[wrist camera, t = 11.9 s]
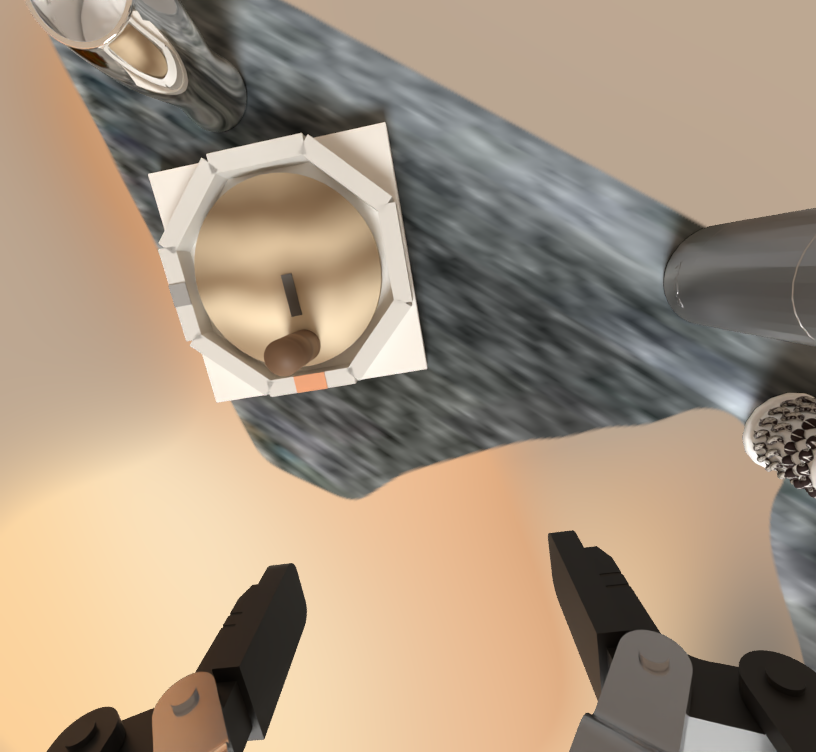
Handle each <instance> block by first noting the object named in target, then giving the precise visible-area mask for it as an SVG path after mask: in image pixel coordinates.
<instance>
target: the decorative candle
mask: <svg viewBox="0 0 816 752" xmlns="http://www.w3.org/2000/svg"><path fill="white" fill-rule="evenodd" d="M742 439H743V444H744V448H745V452H746V453H747V454H748V455H749V457H750V458H751V459H752V460H753V462H755V463H756V464H759V465H761V466H763V467H765V470H766V471H772V470H777V471H778V472H777V476H778V478H779V479H785V478H789V479H791V480H790V483H791V484H793V485H794V486H795V487H796V488H798V489H805V490H806V492H808V494H809V495H810V496H811V497H813V498H816V397H812V396H810V395H808V394H805V393H785V394H782V395H779V396H776V397H773V398H770V399H769V400H767V401H766V402H764V403H763V404H762V405H760V406H759V407H757V408H756V409H755V410H754V412H753V413H752V415H751V416H750V417H749V419H748V420H747V422H746V424H745V428H744V432H743V436H742Z"/></svg>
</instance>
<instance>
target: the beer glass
mask: <svg viewBox="0 0 816 752" xmlns="http://www.w3.org/2000/svg"><path fill="white" fill-rule="evenodd" d="M24 1H25V3H26V5H27V7H28V9H29V11H30V13H31V14H32V16H33V17H34V19H35V20H36V21H37V23H38V24H39V25H40V26H41V27H42V28H43V29H44V30H45V31H46V32H47V33H48V34H49V35H50V36H52V37H53V38H54V39H56V40H57V41H59V42H61V43H62V44H64V45H65V46H66V47H68V48H69V49H70V50H72V51H73V52H74V53H76V54H77V55H78V56H80V57H81V58H82V59H84V60H85V61H87V62H88V63H89V64H91V65H92V66H93V67H95V68H96V69H98V70H99V71H101V72H102V73H104V74H106V75H107V76H109V77H110V78H112V79H114V80H115V81H117V82H119V83H121V84H122V85H124V86H126V87H128V88H130V89H132V90H134V91H137V92H139V93H141V94H144V95H146V96H149V97H151V98H154V99H157V100H160V101H163V102H166V103H169V104H172V105H174V106H177V107H178V108H180V109H181V110H182V111H183V112H184V113H185V114H186V115H187V116H188V117H189V118H190V119H191V120H192V121H193V122H194V123H195V124H196V125H198V126H199V127H201V128H202V129H204V130H207V131H211V132H223V131H227V130H229V129H231V128H233V127H234V126H235V125H236V124H237V123H238V122H239V121H240V119H241V118H242V116H243V114H244V111H245V108H246V102H247V94H246V88H245V84H244V81H243V79H242V77H241V75H240V73H239V72H238V70H237V69H236V68H235V67H234V66H233V65H232V64H231V63H230V62H229V61H227V60H226V59H225V58H223V57H221V56H220V55H218V54H216V53H215V52H213V51H212V50H211V49H210V47H209V46H208V44H207V43H206V41H205V40H204V38H203V36H202V35H201V33H200V31H199V30H198V28H197V26H196V25H195V23H194V22H193V20H192V18H191V17H190V15H189V14H188V12H187V11H186V9H185V8H184V6H183V5H182V4H181V2H180V1H179V0H24Z"/></svg>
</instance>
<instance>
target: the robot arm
mask: <svg viewBox="0 0 816 752" xmlns="http://www.w3.org/2000/svg"><path fill="white" fill-rule="evenodd" d="M664 290H665V296H666V298H667V301H668V303H669V305H670V306H671V308H672V309H673V311H674V312H675V313H676V314H677V315H679V316H680V317H681V318H682V319H684V320H686V321H688V322H690V323H694V324H699V325H703V326H709V327H714V328H720V329H724V330H729V331H734V332H740V333H745V334H751V335H756V336H761V337H767V338H772V339H777V340H783V341H788V342H793V343H799V344H804V345H810V346H815V347H816V208H813V209H806V210H801V211H795V212H789V213H783V214H778V215H772V216H766V217H760V218H754V219H747V220H742V221H736V222H731V223H725V224H720V225H715V226H709V227H707V228H704V229H701V230H699V231H697V232H696V233H694V234H692V235H691V236H689V237H688V238H687V239H686V240H685V241H684V242H682V243H681V244H680V245H679V247H678V248H677V249H676V250H675V252H674V253H673V255H672V257H671V259H670V260H669V262H668V265H667V268H666V272H665V277H664ZM548 541H549V551H550V560H551V569H552V577H553V583H554V587H555V591H556V595H557V598H558V601H559V603H560V606H561V609H562V611H563V614H564V616H565V619H566V621H567V624H568V626H569V629H570V631H571V634H572V636H573V639H574V642H575V644H576V646H577V649H578V651H579V654H580V657H581V659H582V662H583V664H584V667H585V669H586V672H587V675H588V677H589V680H590V682H591V685H592V687H593V690H594V692H595V695H596V697H597V700H598V703H597V706H596V709H595V711H594V713H593V714H592V715H591V714H590V713H586V714H585V715H584V716H583V718H582V719H581V722H580V724H579V727H578V729H577V732H576V735H575V737H574V740H573V743H572V746H571V748H570V751H569V752H816V673H815V672H814V671H813V670H812V669H810V668H809V667H807V666H806V665H804V664H803V663H801V662H799V661H797V660H795V659H793V658H791V657H788V656H786V655H783V654H780V653H776V652H771V651H763V650H759V651H752V652H749V653H747V654H745V655H744V656H743V657H742V658H741V660H740V662H739V667H735V666H730V665H725V664H720V663H714V662H708V661H705V660H701V659H698V658H695V657H692V656H690V655H688V654H687V653H686V652H685V651H684V650H683V648H682V647H681V646H679V645H678V644H677V643H676V642H675V641H673V640H672V639H670V638H668V637H667V636H665V635H662V634H661V633H660V632H659V630H658V629H657V627H656V625H655V624H654V622H653V621H652V619H651V618H650V616H649V615H648V613H647V612H646V610H645V608H644V607H643V605H642V604H641V602H640V601H639V599H638V597H637V596H636V594H635V593H634V591H633V590H632V588H631V587H630V586H629V584H628V582H627V581H626V579H625V577H624V576H623V575H622V574H621V571H620V570H619V568H618V566H617V565H616V563H615V562H614V560H613V559H612V557H611V556H609V555H608V554H606V553H605V552H604V551H602V550H601V549H600V548H598V547H597V546H595V547H586V548H584V547H583V545H582V543H581V542H580V540H579V538H578V536H577V534H576V533H575V532H574V531H573V530H572V531H564V532H556V533H549V534H548ZM306 616H307V607H306V601H305V598H304V594H303V591H302V587H301V583H300V580H299V576H298V572H297V569H296V567H295V565H294V564H292V563H289V564H281V565H273V566H269V567H268V568H267V570H266V571H265V573H264V575H263V576H262V578H261V580H260V582H259V584H257V585H252V586H251V587H250V588H249V589H248V590H247V591H246V592H245V593H244V594H243V595H242V596H241V597H240V598H239V599H238V601H237V602H236V604H235V606H234V608H233V609H232V611H231V613H230V616H228V618H227V619H226V621H225V623H224V624H223V628H221V630H220V631H219V633H218V635H217V636H216V638H215V640H214V642H213V643H212V645H211V647H210V648H209V650H208V652H207V653H206V655H205V657H204V658H203V660H202V662H201V664H200V665H199V667H198V669H197V670H196V672H195V673H193V674H190V675H188V676H186V677H184V678H182V679H181V680H179V681H178V682H176V683H175V684H174V685H172V686H171V687H170V688H169V689H168V690H167V691H166V692H165V693H164V694H163V695H162V697H161V698H160V699H159V701H158V703H157V704H156V706H155V708H153V709H150V710H148V711H145V712H143V713H140V714H138V715H135V716H132V717H130V718H127V719H125V720H122V721H121V719H120V717H119V715H118V712H117V711H116V710H115V709H114V708H112V707H102V708H98V709H95V710H93V711H91V712H89V713H87V714H85V715H84V716H82V717H80V718H79V719H78V720H76V721H75V722H73V723H72V724H71V725H70V726H69V727H67V728H66V729H65V730H64V731H63V732H62V733H61V734H60V735H59V736H58V738H57V739H56V740H55V741H54V743H53V744H52V745H51V747H50V748H49V749H48V750H47V752H243V750H244V748H245V746H246V743H247V741H251V740H263V739H265V736H266V733H267V730H268V727H269V725H270V721H271V719H272V716H273V713H274V710H275V708H276V705H277V702H278V699H279V697H280V694H281V691H282V688H283V685H284V682H285V680H286V677H287V674H288V671H289V669H290V666H291V663H292V660H293V657H294V654H295V652H296V649H297V646H298V643H299V640H300V637H301V635H302V632H303V629H304V626H305V623H306Z"/></svg>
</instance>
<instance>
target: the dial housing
mask: <svg viewBox="0 0 816 752" xmlns="http://www.w3.org/2000/svg"><path fill="white" fill-rule="evenodd" d="M206 156H207V160H208V161H207V160H205V159H203V158H201V160H200V162H199V163H197V164H192V165H187V166H183V167H178V168H174V169H169V170H165V171H160V172H156V173H151V174H148V176H149V179H150V182H151V186H152V189H153V192H154V196H155V199H156V202H157V206H158V209H159V212H160V215H161V219H162V222H163V225H164V229H165V231H164V233H163V235H162V237H161V239H160V241H159V243H158V244H160V245H161V246H163V247H164V248H163V249H158V251H159V254H160V257H161V261H162V264H163V267H164V270H165V273H166V277H167V280H168V283H169V289H170V293H171V296H172V299H173V302H174V306H175V307H176V309H177V313H178V316H179V319H180V322H181V326H182V329H183V332H184V335H185V339H186V341H190V340H193V341H192V343H191V345H190V346H191V347H192V348H194V349H196V350H197V351H199V352H200V353H201V354H202V355H203V358H204V362H205V365H206V369H207V372H208V375H209V379H210V382H211V385H212V389H213V392H214V395H215V399H216V402H223V401H230V400H236V399H242V398H248V397H255V396H261V395H265V396H266V395H267V394H270V396H271V397H274V396H280V395H286V394H292V393H301V392H307V391H313V390H319V389H326V388H330V387H336V386H343V385H349V384H355V383H356V382H357V380H361V379H367V378H373V377H379V376H385V375H392V374H398V373H404V372H410V371H417V370H423V369H427V360H426V354H425V348H424V342H423V336H422V330H421V324H420V319H419V313H418V307H417V301H416V295H415V289H414V283H413V277H412V271H411V265H410V260H409V254H408V248H407V242H406V236H405V230H404V224H403V218H402V212H401V206H400V201H399V195H398V189H397V183H396V177H395V171H394V165H393V159H392V153H391V147H390V142H389V136H388V130H387V127H386V123H385V122H383V123H379V124H374V125H370V126H365V127H361V128H356V129H351V130H347V131H342V132H338V133H333V134H329V135H324V136H320V137H315V138H312V137H311V136H310V135H307V137H305V136H304V135H303V134H302V133H299V134H294V135H290V136H285V137H281V138H276V139H272V140H267V141H262V142H258V143H253V144H249V145H244V146H240V147H235V148H231V149H226V150H222V151H217V152H213V153H208V154H206ZM268 173H293V174H299V175H303V176H307V177H310V178H313V179H315V180H317V181H320V182H322V183H324V184H326V185H327V186H329V187H331V188H332V189H334V190H336V191H337V192H338V193H339V194H341V195H342V196H343V197H344V198H346V199H347V200H348V201H349V202H350V203H351V204H352V205H353V206H354V207H355V208H356V209H357V210H358V212H359V213H360V214H361V216H362V217H363V218H364V220H365V221H366V223H367V225H368V226H369V228H370V230H371V232H372V234H373V236H374V239H375V241H376V243H377V247H378V250H379V254H380V258H381V265H382V288H381V295H380V299H379V303H378V306H377V309H376V312H375V314H374V317H373V318H372V320H371V322H370V324H369V326H368V327H367V328H366V330H365V331H364V332H363V334H362V335H361V336H360V337H359V338H358V339H357V340H356V341H355V342H354V343H353V344H352V345H351V346H350V347H349V348H347V349H346V350H345V351H343V352H342V353H341V354H339V355H337V356H335V357H334V358H332V359H330V360H327V361H325V362H322V363H319V364H315V365H311V366H304V367H302V368H301V369H299V370H298V371H296V372H295V373H294V374H292V375H290V376H278V375H276V374H274V373H272V372H271V371H270V370H269V369H268V368H267V366H266V364H265V362H263V361H260V360H258V359H255V358H253V357H251V356H249V355H248V354H246V353H244V352H242V351H241V350H240V349H238V348H237V347H236V346H234V345H233V344H232V343H231V342H230V341H229V340H227V339H226V338H225V337H224V336H223V334H222V333H221V332H220V331H219V330H218V329H217V327H216V326H215V325H214V323H213V322H212V320H211V319H210V317H209V315H208V313H207V311H206V310H205V308H204V306H203V303H202V300H201V298H200V295H199V292H198V288H197V284H196V278H195V270H194V256H195V248H196V242H197V238H198V234H199V231H200V229H201V226H202V224H203V221H204V219H205V218H206V216H207V214H208V212H209V211H210V209H211V208H212V207H213V205H214V204H215V203H216V202H217V200H218V199H219V198H220V197H221V196H222V195H224V194H225V193H226V192H227V191H228V190H229V189H231V188H232V187H234V186H235V185H237V184H239V183H241V182H243V181H245V180H247V179H249V178H252V177H255V176H258V175H262V174H268Z"/></svg>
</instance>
